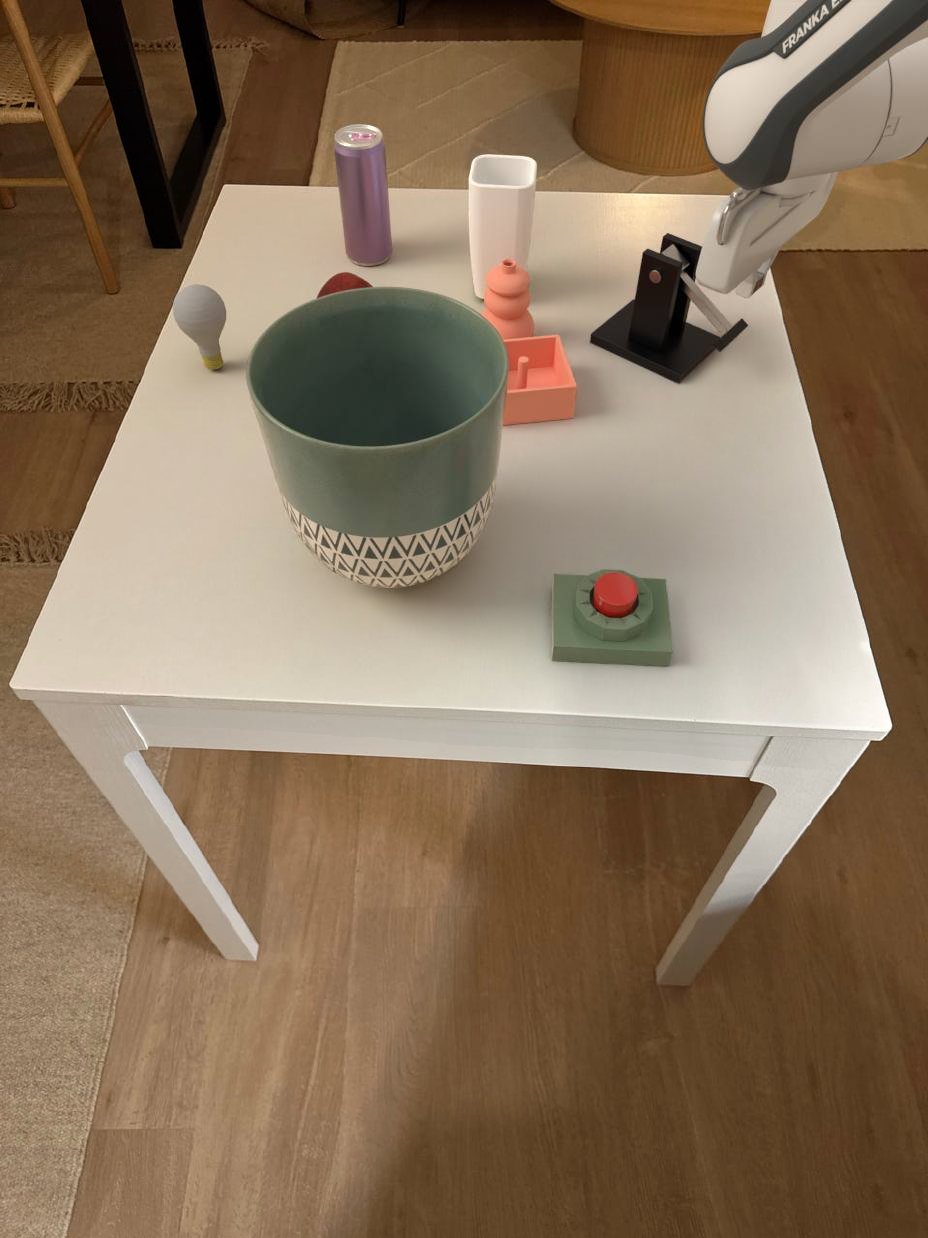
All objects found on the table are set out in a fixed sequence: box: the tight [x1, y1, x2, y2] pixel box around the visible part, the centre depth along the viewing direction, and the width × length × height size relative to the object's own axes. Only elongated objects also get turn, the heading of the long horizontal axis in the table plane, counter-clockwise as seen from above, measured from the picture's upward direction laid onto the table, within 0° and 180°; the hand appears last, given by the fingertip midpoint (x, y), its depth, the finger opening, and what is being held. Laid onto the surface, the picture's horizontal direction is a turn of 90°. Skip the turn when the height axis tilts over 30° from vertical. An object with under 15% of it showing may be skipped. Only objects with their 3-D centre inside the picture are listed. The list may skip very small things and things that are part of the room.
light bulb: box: [172, 283, 227, 370], centre depth 98 cm, size 6×6×10 cm
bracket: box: [589, 232, 722, 384], centre depth 100 cm, size 12×9×12 cm
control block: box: [551, 568, 674, 667], centre depth 78 cm, size 10×8×4 cm
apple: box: [315, 271, 374, 299], centre depth 102 cm, size 7×8×8 cm
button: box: [593, 572, 638, 617], centre depth 76 cm, size 4×4×2 cm
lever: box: [661, 244, 749, 353], centre depth 97 cm, size 12×5×2 cm, turn 50°
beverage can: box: [333, 123, 393, 267], centre depth 110 cm, size 6×6×15 cm
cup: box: [468, 153, 538, 301], centre depth 105 cm, size 7×7×15 cm
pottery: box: [480, 259, 578, 426], centre depth 97 cm, size 18×10×10 cm, turn 8°
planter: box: [245, 286, 509, 589], centre depth 76 cm, size 20×20×21 cm
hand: (748, 290), depth 93 cm, fingers closed
